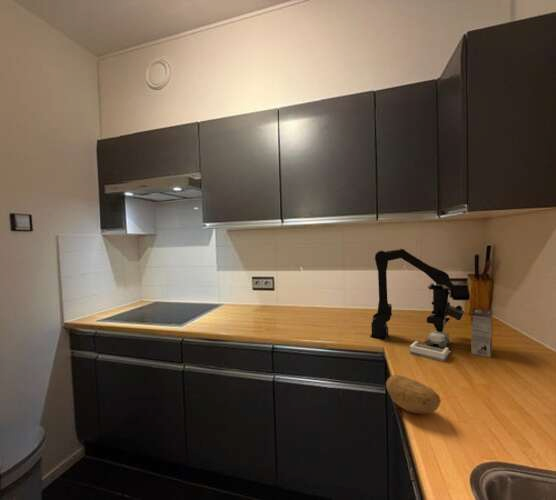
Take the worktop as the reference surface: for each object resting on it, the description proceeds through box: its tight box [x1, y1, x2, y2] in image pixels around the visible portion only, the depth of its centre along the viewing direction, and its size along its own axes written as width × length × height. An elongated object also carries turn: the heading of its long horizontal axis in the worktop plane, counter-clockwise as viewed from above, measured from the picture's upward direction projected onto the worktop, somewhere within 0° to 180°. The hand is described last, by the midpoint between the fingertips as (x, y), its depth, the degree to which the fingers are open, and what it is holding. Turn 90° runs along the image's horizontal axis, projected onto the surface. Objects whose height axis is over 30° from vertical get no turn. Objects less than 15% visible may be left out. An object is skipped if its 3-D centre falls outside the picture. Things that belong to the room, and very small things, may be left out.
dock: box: [409, 340, 452, 363], centre depth 115 cm, size 12×11×3 cm
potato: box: [385, 374, 442, 415], centre depth 79 cm, size 10×14×8 cm
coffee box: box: [470, 307, 493, 358], centre depth 114 cm, size 9×6×16 cm
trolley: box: [424, 330, 451, 349], centre depth 122 cm, size 8×8×5 cm
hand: (440, 335), depth 126 cm, fingers closed
